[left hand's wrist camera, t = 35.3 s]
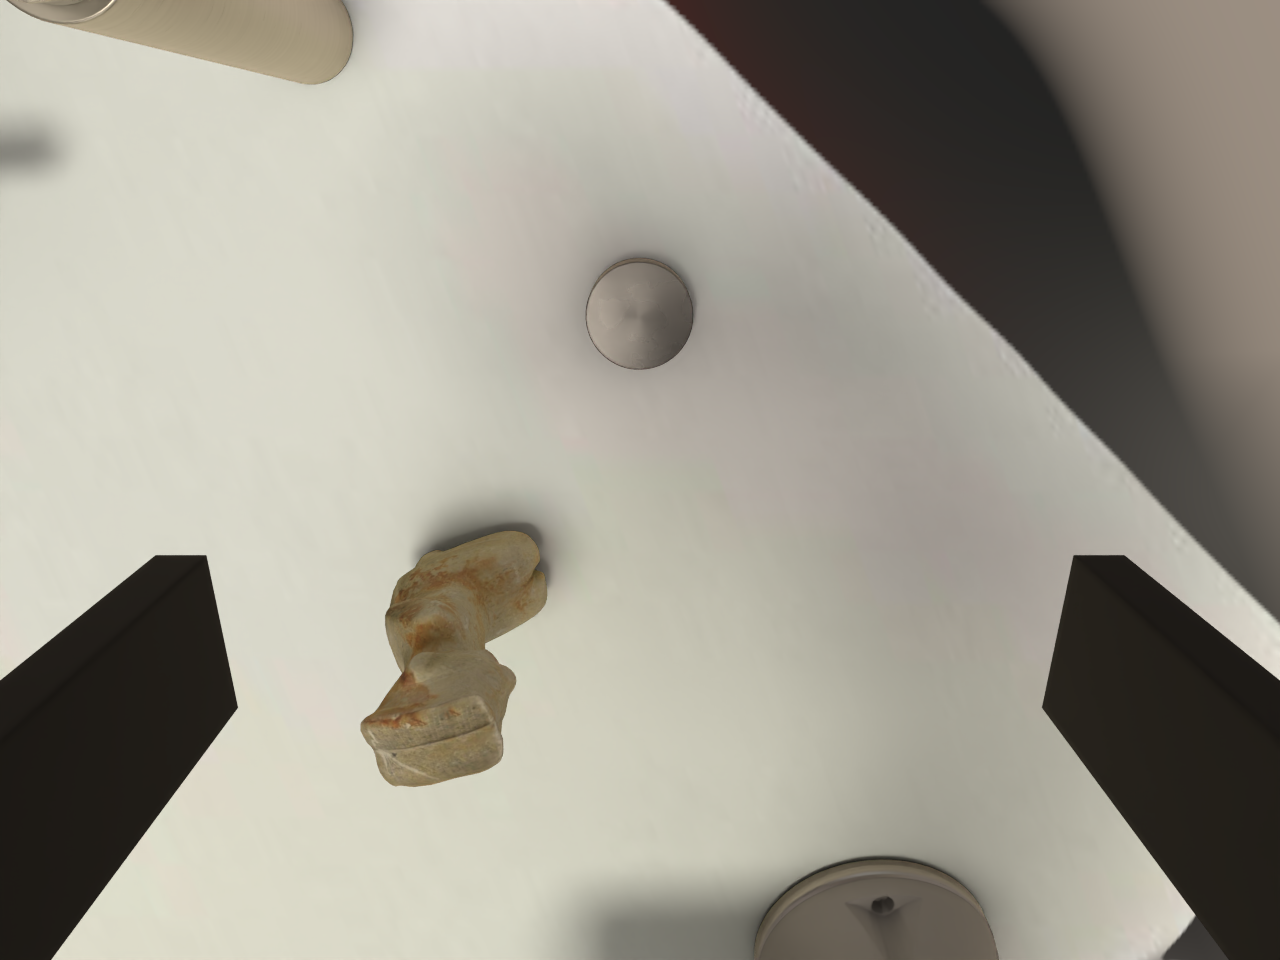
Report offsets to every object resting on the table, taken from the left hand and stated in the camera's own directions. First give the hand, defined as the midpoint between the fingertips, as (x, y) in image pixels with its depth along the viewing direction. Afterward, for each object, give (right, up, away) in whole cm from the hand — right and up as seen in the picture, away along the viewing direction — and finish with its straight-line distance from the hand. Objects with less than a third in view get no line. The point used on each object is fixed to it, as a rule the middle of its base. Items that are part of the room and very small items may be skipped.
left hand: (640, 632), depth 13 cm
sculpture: (-8, -2, +32) cm, 33 cm away
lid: (0, +10, +26) cm, 28 cm away
